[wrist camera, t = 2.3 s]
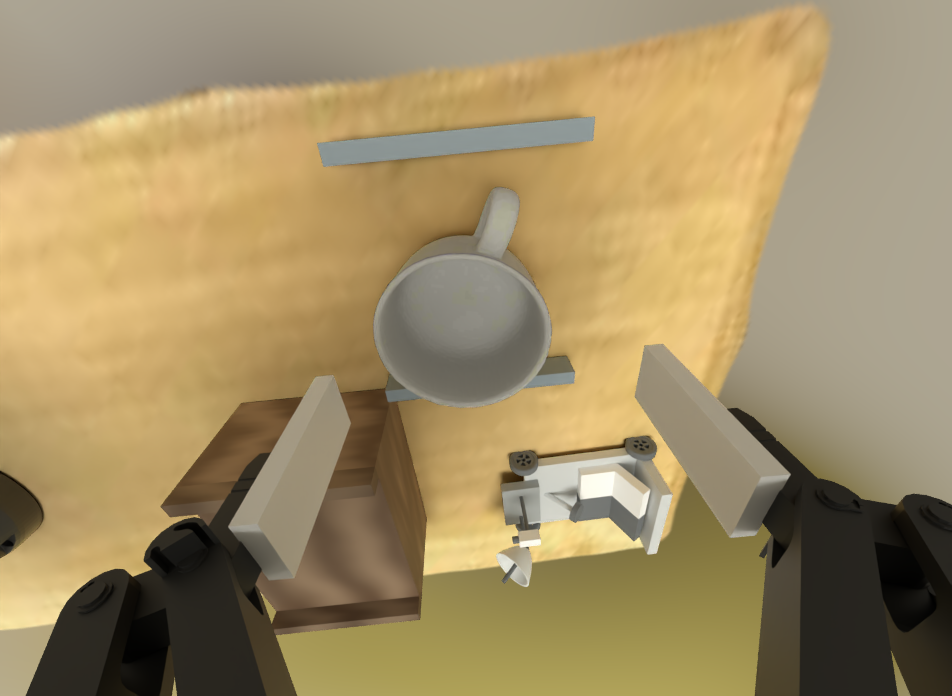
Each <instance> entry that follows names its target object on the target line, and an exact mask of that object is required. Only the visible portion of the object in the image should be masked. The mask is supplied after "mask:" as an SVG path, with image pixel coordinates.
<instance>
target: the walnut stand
mask: <svg viewBox="0 0 952 696" xmlns="http://www.w3.org/2000/svg"><path fill="white" fill-rule="evenodd" d="M385 390H386V389H378V390H368V391H358V392H349V393H340V394H341V397H342V400H343V403H344V405H345V408H346V411H347V414H348V417H349V419H350V422H351V425H350V427H349V430H348V433H347V436H346V438H345V441H344V444H343V446H342V449H341V452H340V455H339V457H338V460H337V463H336V466H335V468H334V471H333V474H332V477H331V479H330V482H329V485H328V488H327V490H326V493H325V496H324V499H323V501H322V504H321V507H320V509H319V512H318V515H317V518H316V520H315V523H314V526H313V529H312V531H311V534H310V537H309V540H308V542H307V545H306V548H305V551H304V553H303V556H302V559H301V562H300V564H299V567H298V570H297V572H296V575H295V578H290V579H279V580H268V578H267V577H266V576H265V574H264V573H263V572H262V570H261V573H260V575H259V577H258V579H257V582H256V586H257V587H258V588H259V590H260V592H261V593H262V594H263V595H264V597H265V598H266V599H267V600H268V602H269V603H270V604H271V605H272V607H273V608H274V609H275V610H276V614H275V617H274V620H273V622H272V627H273V629H274V632H275V635H282V634H291V633H300V632H310V631H319V630H328V629H338V628H347V627H357V626H366V625H375V624H384V623H394V622H402V621H412V620H420V614H421V599H422V583H423V568H424V552H425V537H426V522H427V517H426V513H425V510H424V506H423V502H422V498H421V494H420V490H419V486H418V482H417V479H416V475H415V471H414V467H413V463H412V459H411V455H410V451H409V447H408V444H407V440H406V436H405V432H404V428H403V424H402V420H401V416H400V412H399V409H398V405H397V401H395V402H388V400H387V396H386V393H385ZM302 399H303V397H299V398H290V399H280V400H270V401H260V402H250V403H241V404H240V405H239V407H238V408H237V409H236V411H235V412H234V413H233V414H232V416H231V417H230V418H229V420H228V421H227V422H226V423H225V425H224V426H223V427H222V428H221V430H220V431H219V432H218V434H217V435H216V436H215V437H214V439H213V440H212V441H211V442H210V444H209V445H208V446H207V448H206V449H205V450H204V451H203V453H202V454H201V455H200V457H199V458H198V459H197V460H196V462H195V463H194V464H193V465H192V467H191V468H190V469H189V471H188V472H187V473H186V474H185V476H184V477H183V478H182V479H181V481H180V482H179V483H178V485H177V486H176V487H175V488H174V490H173V491H172V492H171V494H170V495H169V496H168V497H167V499H166V500H165V501H164V502H163V504H162V505H161V506H160V507H161V508H162V509H163V510H164V511H165V512H166V513H167V514H168V516H169V517H178V516H187V515H197V514H198V515H199V517H200V518H201V519H203V520H204V522H205V523H206V524H207V525H208V526H209V524H210V523H211V521H212V519H213V518H214V516H215V515H216V513H217V512H218V510H219V508H220V507H221V505H222V504H223V502H224V501H225V499H226V497H227V496H228V494H229V493H231V489H232V488H233V486H234V485H235V483H236V482H238V478H239V477H240V475H241V474H242V472H243V471H244V469H245V467H246V466H247V465H248V464H249V463H250V462H251V461H252V460H253V459H254V458H255V457H257V456H258V455H259V454H260V453H270V452H272V450H273V449H274V447H275V445H276V443H277V442H278V440H279V438H280V437H281V435H282V433H283V431H284V430H285V428H286V426H287V425H288V423H289V421H290V419H291V418H292V416H293V414H294V413H295V411H296V409H297V407H298V406H299V404H300V402H301V400H302Z"/></svg>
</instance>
